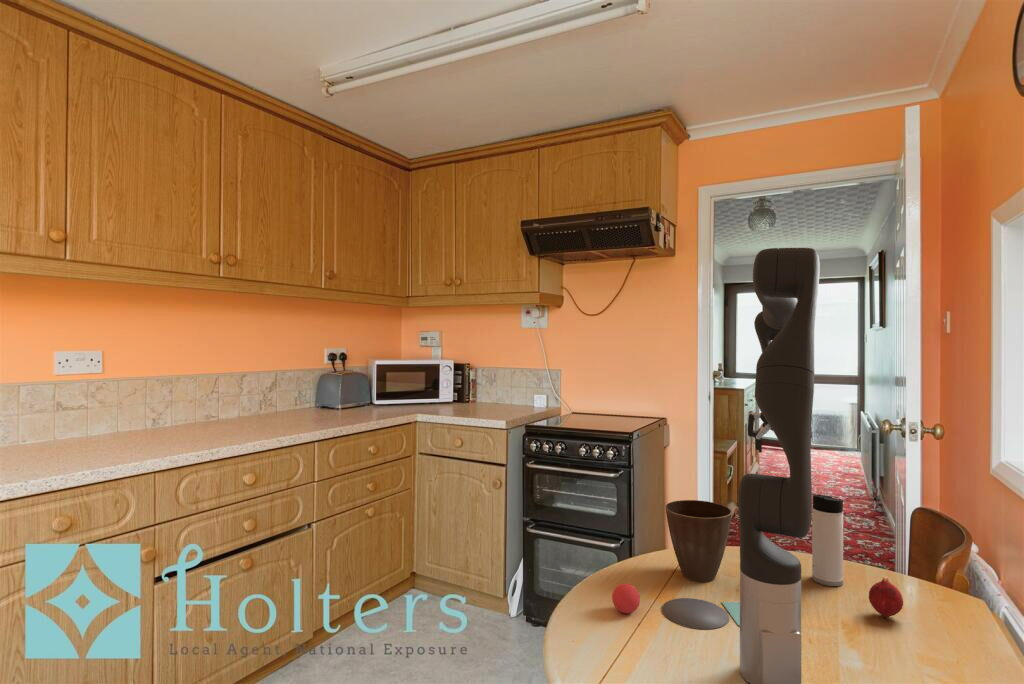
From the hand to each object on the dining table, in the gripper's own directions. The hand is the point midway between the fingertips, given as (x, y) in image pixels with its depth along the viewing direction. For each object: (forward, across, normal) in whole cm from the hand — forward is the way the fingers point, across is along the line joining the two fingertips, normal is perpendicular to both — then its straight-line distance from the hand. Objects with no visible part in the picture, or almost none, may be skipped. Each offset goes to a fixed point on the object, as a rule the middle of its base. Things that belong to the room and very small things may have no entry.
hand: (778, 452), depth 142 cm
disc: (+17, -18, -41) cm, 48 cm away
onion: (+21, +17, -29) cm, 40 cm away
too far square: (+18, -7, -37) cm, 42 cm away
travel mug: (+25, +9, -15) cm, 31 cm away
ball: (+13, -32, -44) cm, 56 cm away
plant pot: (+23, -19, -22) cm, 37 cm away
